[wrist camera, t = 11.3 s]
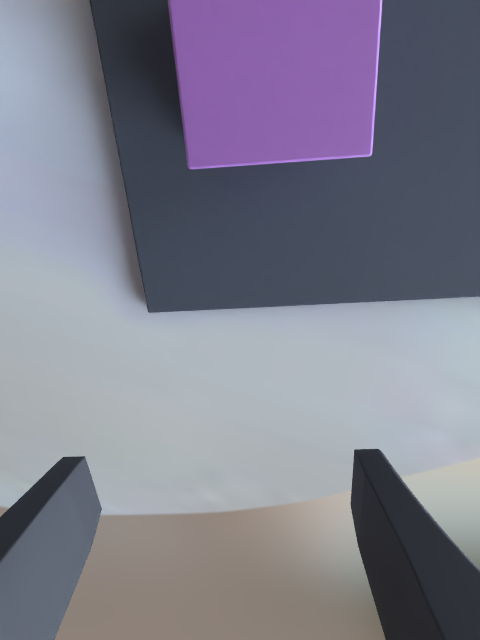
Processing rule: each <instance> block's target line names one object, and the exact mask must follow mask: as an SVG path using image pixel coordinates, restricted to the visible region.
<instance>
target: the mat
mask: <svg viewBox="0 0 480 640" xmlns="http://www.w3.org/2000/svg"><path fill="white" fill-rule="evenodd" d="M90 5H91V10H92V15H93V21H94V26H95V31H96V37H97V42H98V47H99V53H100V58H101V63H102V69H103V74H104V79H105V84H106V90H107V95H108V100H109V106H110V111H111V116H112V122H113V127H114V132H115V138H116V143H117V148H118V154H119V159H120V164H121V170H122V175H123V180H124V185H125V191H126V196H127V201H128V207H129V212H130V217H131V223H132V228H133V233H134V239H135V244H136V249H137V255H138V260H139V265H140V270H141V276H142V281H143V286H144V292H145V297H146V302H147V308H148V312H149V313H152V312H173V311H193V310H214V309H234V308H255V307H275V306H296V305H316V304H336V303H357V302H377V301H398V300H418V299H439V298H459V297H480V0H382V13H381V28H380V43H379V58H378V73H377V88H376V103H375V118H374V133H373V148H372V154H371V156H369V157H355V158H342V159H328V160H314V161H300V162H286V163H272V164H259V165H245V166H231V167H217V168H203V169H189V168H188V165H187V157H186V148H185V140H184V132H183V123H182V115H181V107H180V99H179V90H178V82H177V74H176V65H175V57H174V49H173V40H172V32H171V24H170V15H169V7H168V0H90Z"/></svg>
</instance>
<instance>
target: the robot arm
mask: <svg viewBox="0 0 480 640" xmlns="http://www.w3.org/2000/svg"><path fill="white" fill-rule="evenodd" d="M351 509H352V515H353V520H354V526H355V531H356V537H357V542H358V547H359V550H360V553H361V557H362V560H363V564H364V567H365V570H366V574H367V578H368V581H369V584H370V588H371V591H372V595H373V598H374V601H375V605H376V608H377V611H378V615H379V618H380V622H381V625H382V629H383V632H384V635H385V639H386V640H480V570H479V569H478V568H477V567H476V566H475V565H474V564H473V563H472V562H471V561H470V560H469V558H468V557H467V556H466V555H465V554H464V553H463V552H462V551H461V550H460V549H459V547H458V546H457V545H456V544H455V543H454V542H453V541H452V540H451V539H450V537H449V536H448V535H447V534H446V533H445V532H444V531H443V530H442V528H441V527H440V526H439V525H438V524H437V522H436V521H435V520H434V519H433V518H432V517H431V515H430V514H429V513H428V512H427V511H426V509H424V507H423V506H422V505H421V503H420V502H419V501H418V500H417V498H416V497H415V496H414V495H413V493H412V492H411V491H410V489H409V488H408V487H407V485H406V484H405V483H404V482H403V481H402V479H401V478H400V476H399V475H398V474H397V472H396V471H395V469H394V468H393V467H392V465H391V464H390V463H389V461H388V460H387V458H386V457H385V455H384V454H383V453H382V452H381V451H380V450H379V449H360V450H354V464H353V479H352V493H351ZM101 510H102V508H101V505H100V502H99V499H98V496H97V493H96V490H95V486H94V483H93V480H92V477H91V474H90V471H89V468H88V465H87V461H86V458H85V456H83V457H63V458H62V459H61V460H60V461H58V462H57V463H56V464H55V465H54V466H53V467H52V468H51V469H50V470H49V471H48V472H47V473H46V474H45V475H44V476H43V477H42V478H41V479H40V480H39V481H38V482H37V483H36V484H34V485H33V486H32V487H31V488H30V489H29V490H28V491H27V492H26V493H25V494H24V495H23V496H22V497H21V498H20V499H19V500H18V501H17V502H16V503H15V504H14V505H13V506H12V507H10V508H9V509H8V510H7V511H6V512H5V513H4V514H3V515H2V516H1V517H0V640H54V639H55V637H56V635H57V632H58V630H59V627H60V625H61V622H62V619H63V617H64V615H65V612H66V610H67V607H68V605H69V602H70V600H71V597H72V595H73V592H74V590H75V587H76V585H77V583H78V580H79V578H80V575H81V573H82V570H83V567H84V565H85V562H86V560H87V557H88V555H89V552H90V550H91V546H92V543H93V540H94V536H95V533H96V529H97V525H98V521H99V517H100V513H101Z"/></svg>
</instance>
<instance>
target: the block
mask: <svg viewBox="0 0 480 640" xmlns="http://www.w3.org/2000/svg"><path fill="white" fill-rule="evenodd" d="M168 7H169V15H170V24H171V32H172V40H173V49H174V57H175V65H176V74H177V82H178V90H179V99H180V107H181V115H182V123H183V132H184V140H185V148H186V157H187V165H188V168H189V169H203V168H217V167H231V166H245V165H259V164H272V163H286V162H300V161H314V160H328V159H342V158H355V157H369V156H371V154H372V148H373V133H374V118H375V103H376V88H377V73H378V58H379V43H380V28H381V13H382V0H168Z"/></svg>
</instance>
